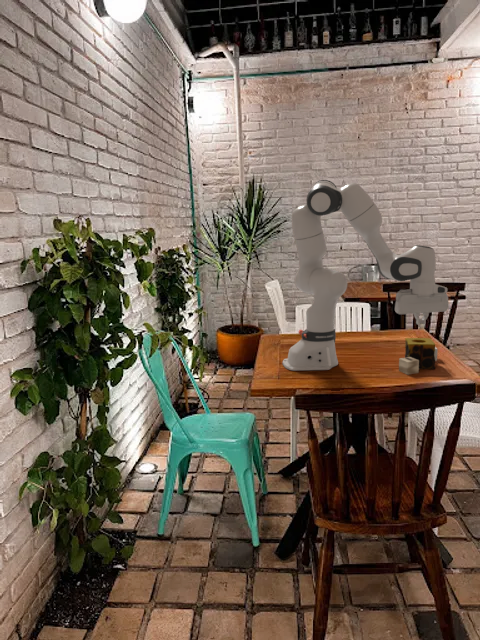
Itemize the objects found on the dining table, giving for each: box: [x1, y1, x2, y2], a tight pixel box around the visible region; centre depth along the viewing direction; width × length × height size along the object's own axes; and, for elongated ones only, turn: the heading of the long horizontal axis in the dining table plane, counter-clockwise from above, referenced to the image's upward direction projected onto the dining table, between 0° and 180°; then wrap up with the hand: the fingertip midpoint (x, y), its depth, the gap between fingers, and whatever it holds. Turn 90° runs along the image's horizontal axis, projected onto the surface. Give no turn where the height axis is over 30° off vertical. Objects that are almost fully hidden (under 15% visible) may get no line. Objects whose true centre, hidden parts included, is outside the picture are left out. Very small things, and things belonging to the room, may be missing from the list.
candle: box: [404, 337, 436, 370], centre depth 186 cm, size 10×10×10 cm
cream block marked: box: [434, 346, 439, 362], centre depth 194 cm, size 5×5×5 cm
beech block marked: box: [398, 357, 420, 376], centre depth 179 cm, size 5×5×5 cm
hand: (420, 324), depth 183 cm, fingers closed
